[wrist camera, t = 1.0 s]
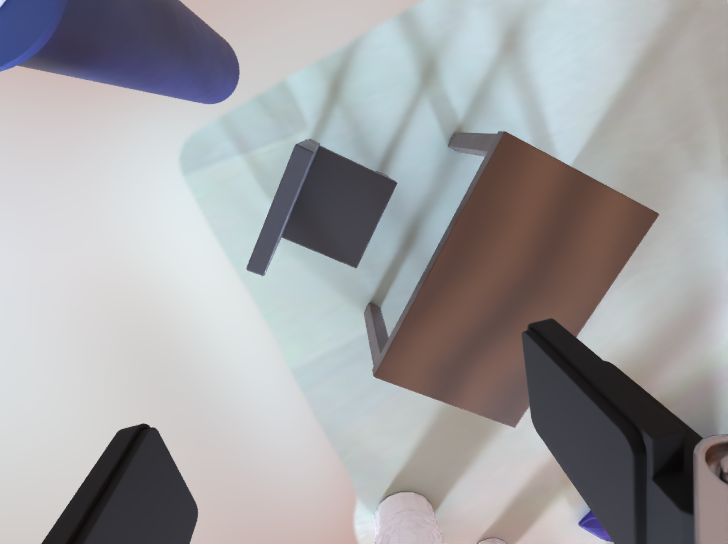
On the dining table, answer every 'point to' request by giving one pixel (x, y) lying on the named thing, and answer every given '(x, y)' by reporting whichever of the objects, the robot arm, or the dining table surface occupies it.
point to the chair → (323, 207)
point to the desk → (506, 276)
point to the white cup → (406, 521)
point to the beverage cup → (492, 541)
